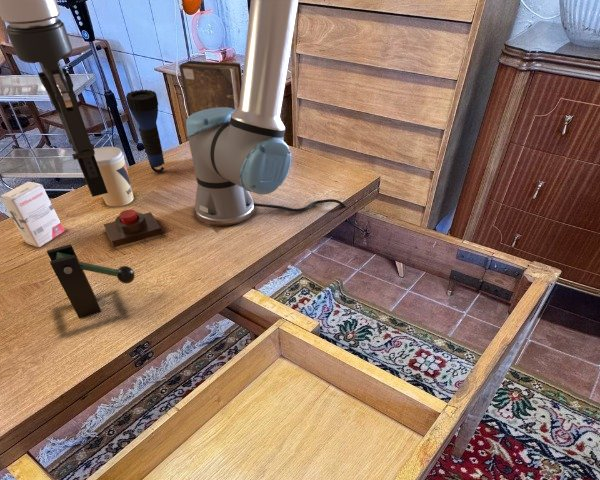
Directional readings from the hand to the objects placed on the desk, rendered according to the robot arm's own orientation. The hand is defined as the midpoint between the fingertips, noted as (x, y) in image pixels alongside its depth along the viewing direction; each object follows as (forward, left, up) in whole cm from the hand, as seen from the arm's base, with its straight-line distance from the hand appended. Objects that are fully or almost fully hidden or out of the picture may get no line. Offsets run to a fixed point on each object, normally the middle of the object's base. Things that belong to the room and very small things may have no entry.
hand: (99, 193), depth 78 cm
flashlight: (-22, -55, -22) cm, 63 cm away
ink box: (+14, -34, -22) cm, 43 cm away
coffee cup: (-7, -44, -22) cm, 49 cm away
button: (-6, -24, -18) cm, 30 cm away
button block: (-6, -24, -21) cm, 32 cm away
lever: (+6, +2, -14) cm, 15 cm away
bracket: (+10, +2, -21) cm, 24 cm away
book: (-41, -52, -22) cm, 69 cm away
